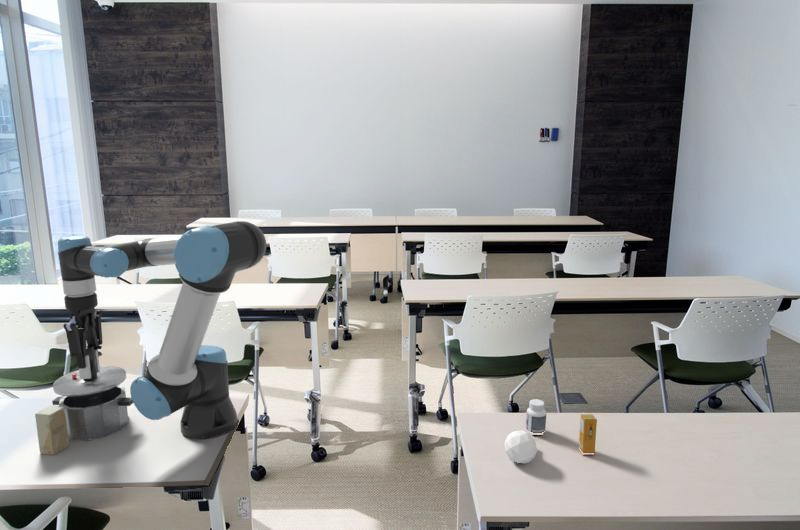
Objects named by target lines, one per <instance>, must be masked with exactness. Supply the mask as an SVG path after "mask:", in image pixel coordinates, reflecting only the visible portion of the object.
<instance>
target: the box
mask: <svg viewBox="0 0 800 530" xmlns="http://www.w3.org/2000/svg"><path fill="white" fill-rule="evenodd" d="M34 415H35V425H36V431H37V439H38V447H39V453H40V454H42V455H50V456H51V455H52V456H54V455H56V454H57V453H59V452H61V451H62V450H64V449H66V448H67V447H68V446H69V445H70V443H69V439H68V435H67V426H66V418H65V409H64V407H60V406H59V405H49V406H47V407H46V408H43V409H42V410H40V411H38V412H36V413H34Z"/></svg>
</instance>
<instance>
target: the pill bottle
mask: <svg viewBox="0 0 800 530" xmlns="http://www.w3.org/2000/svg"><path fill="white" fill-rule="evenodd" d="M528 405H529V407H527V409H526V420H525V430H526V429H527V430H528V431H530V432H533V433H542V432H544V431H545V432H546V425H547V411H546V409H545V402H544V401H543V400H542V399H537V398H535V399H534V398H533V399H531V400H529V404H528Z"/></svg>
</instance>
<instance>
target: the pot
mask: <svg viewBox="0 0 800 530" xmlns="http://www.w3.org/2000/svg"><path fill="white" fill-rule="evenodd" d="M126 396H127V395H126V387H125V386H123V385H121V384H120V385H118V386H116V387H114V388H112V389H109V390H106V391H103V392H100V393H96V394H91V395H85V396H57V397H56V398H55V399H53V400H52V401H51V402H52V406H60V407H64V409H65V418H66V426H67V435H68V440H70V441H91V440H95V439H102V438H105V437H107V436H109V435H112V434H113V433H114V434H115V433H116V432H119V431H121V430H122V429H123V428H124V427H125V426H126V425H127V424H128V423H129V413H128V407H130V406H132V405H134V402H133V400H132V398H131V397H126Z"/></svg>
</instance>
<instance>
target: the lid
mask: <svg viewBox="0 0 800 530" xmlns="http://www.w3.org/2000/svg"><path fill="white" fill-rule="evenodd" d="M86 355H89V362H90V370H91V378H90V379H80V374H79V369H77V370H74V371H71V372H68V373H66V374H64V375H61V376H60V377H59V378H57V379H56V380H55V381H54V382H53V384H52V389H53V393H55V394H56V395H58V396H61V397H64V396H85V395H91V394H96V393H100V392H103V391H106V390H109V389H112V388H114V387H116V386H118V385H120V386H121V384H122V383H124V382H125V380H126V379H127V371H126V369H124V368H123V367H120V366H114V365H99V367H100V372H99V373H97V369H96V361H95V353H94V346H88V345H86Z"/></svg>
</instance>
